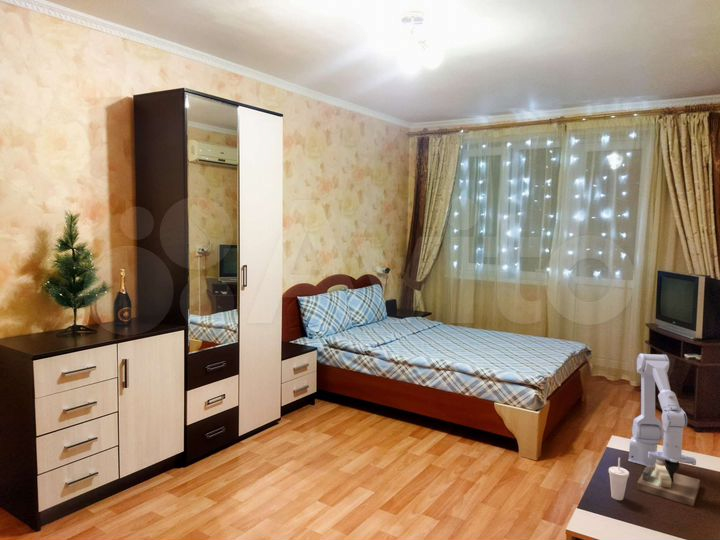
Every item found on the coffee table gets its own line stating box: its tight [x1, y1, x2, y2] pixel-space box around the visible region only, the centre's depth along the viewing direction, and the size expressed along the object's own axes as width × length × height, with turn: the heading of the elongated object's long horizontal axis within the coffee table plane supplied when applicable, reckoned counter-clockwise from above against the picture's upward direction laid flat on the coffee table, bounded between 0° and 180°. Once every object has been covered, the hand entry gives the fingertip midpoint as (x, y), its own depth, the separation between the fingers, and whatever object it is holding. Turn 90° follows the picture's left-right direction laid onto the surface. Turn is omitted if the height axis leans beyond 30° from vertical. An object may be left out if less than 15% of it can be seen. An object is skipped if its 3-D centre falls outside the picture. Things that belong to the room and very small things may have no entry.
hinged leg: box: [655, 459, 671, 488], centre depth 186 cm, size 13×3×4 cm, turn 160°
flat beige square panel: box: [636, 465, 701, 507], centre depth 184 cm, size 17×17×6 cm
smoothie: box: [608, 457, 630, 501], centre depth 177 cm, size 6×6×14 cm
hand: (670, 480), depth 183 cm, fingers closed, pressing on hinged leg
